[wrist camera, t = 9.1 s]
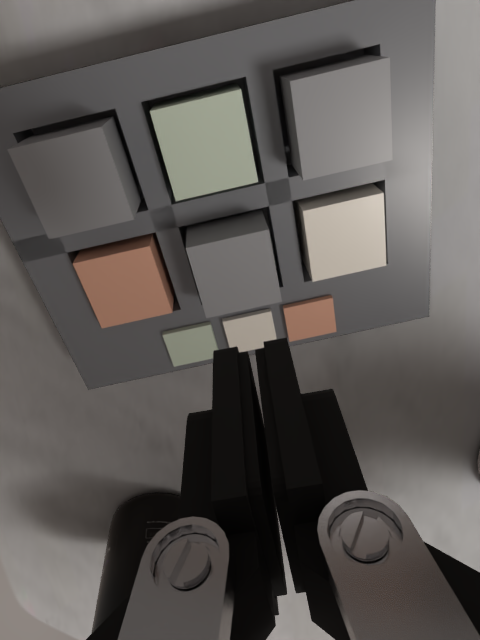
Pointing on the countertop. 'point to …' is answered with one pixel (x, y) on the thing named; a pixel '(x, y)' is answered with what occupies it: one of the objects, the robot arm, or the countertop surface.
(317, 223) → the key cream
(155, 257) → the key terracotta
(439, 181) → the countertop surface
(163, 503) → the supplement bottle
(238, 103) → the key sage
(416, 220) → the keypad
